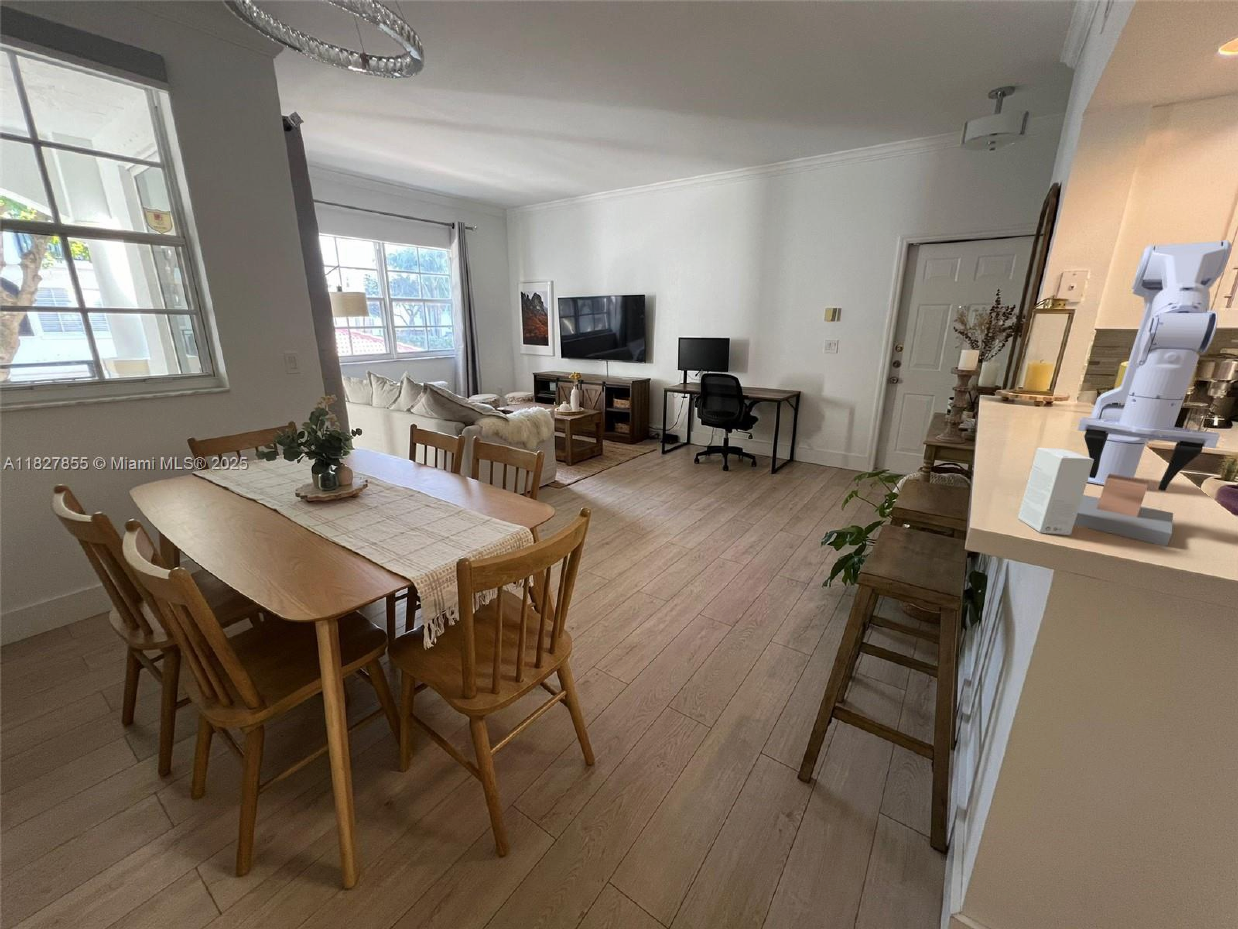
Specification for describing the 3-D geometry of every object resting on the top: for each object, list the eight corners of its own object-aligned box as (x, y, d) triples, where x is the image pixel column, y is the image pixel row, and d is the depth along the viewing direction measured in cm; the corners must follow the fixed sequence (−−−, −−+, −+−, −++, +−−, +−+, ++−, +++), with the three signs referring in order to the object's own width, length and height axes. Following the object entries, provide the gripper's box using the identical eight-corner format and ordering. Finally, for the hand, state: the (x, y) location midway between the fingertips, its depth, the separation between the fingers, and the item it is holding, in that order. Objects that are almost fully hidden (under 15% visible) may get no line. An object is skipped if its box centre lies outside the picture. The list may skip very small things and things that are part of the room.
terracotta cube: (1099, 502, 80) (1109, 473, 78) (1138, 510, 77) (1148, 480, 75) (1096, 508, 77) (1106, 479, 76) (1136, 517, 74) (1147, 486, 72)
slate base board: (1068, 503, 85) (1071, 492, 84) (1168, 524, 76) (1173, 512, 76) (1056, 520, 77) (1060, 508, 77) (1166, 546, 69) (1171, 533, 68)
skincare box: (1071, 536, 72) (1096, 459, 68) (1039, 533, 72) (1061, 457, 69) (1046, 520, 77) (1067, 448, 74) (1016, 518, 78) (1035, 446, 75)
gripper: (1085, 393, 74) (1061, 476, 78) (1233, 406, 64) (1196, 501, 68) (1091, 389, 79) (1067, 468, 83) (1230, 401, 68) (1195, 490, 72)
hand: (1125, 482), depth 76 cm, fingers open, 7 cm apart
